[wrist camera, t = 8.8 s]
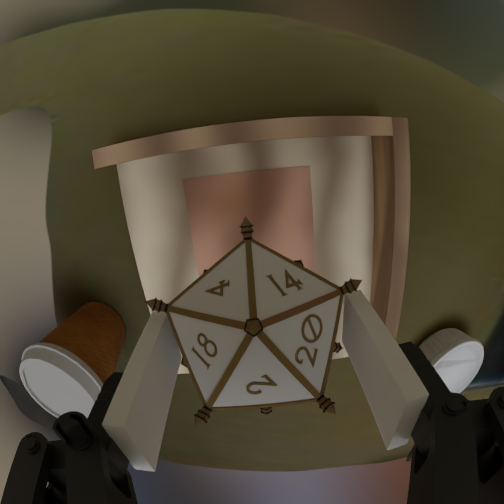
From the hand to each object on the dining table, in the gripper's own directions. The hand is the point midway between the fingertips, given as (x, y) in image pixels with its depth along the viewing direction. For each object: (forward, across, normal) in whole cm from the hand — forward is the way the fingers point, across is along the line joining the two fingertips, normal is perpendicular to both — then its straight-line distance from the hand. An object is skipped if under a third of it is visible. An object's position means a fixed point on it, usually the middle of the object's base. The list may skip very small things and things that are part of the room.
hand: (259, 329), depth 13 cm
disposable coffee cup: (+16, +18, +9) cm, 26 cm away
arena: (+15, -1, +3) cm, 16 cm away
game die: (+4, 0, 0) cm, 4 cm away
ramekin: (+16, -24, +20) cm, 35 cm away
